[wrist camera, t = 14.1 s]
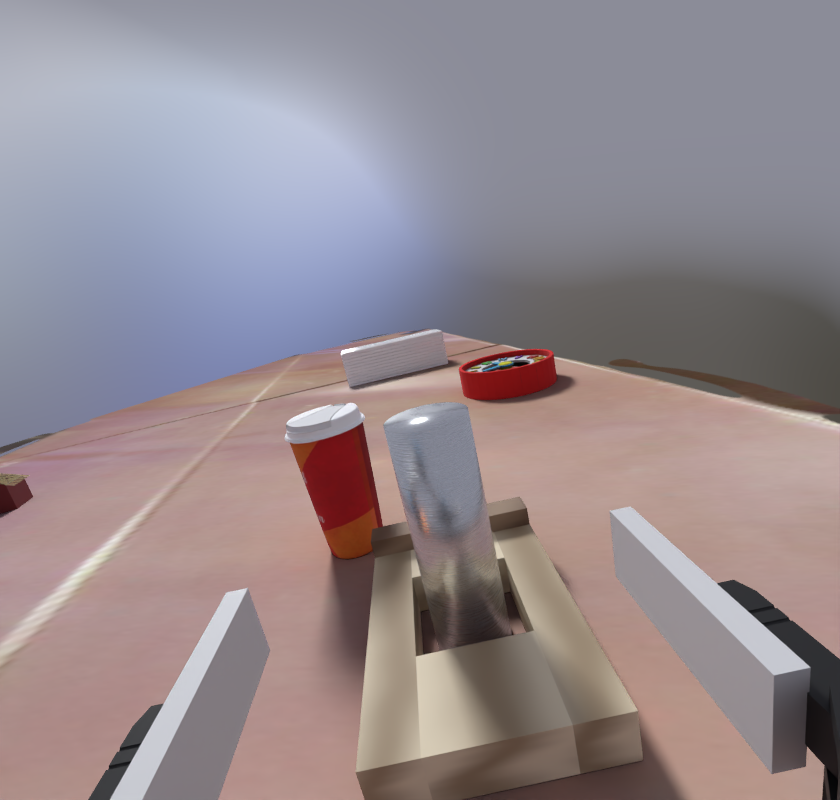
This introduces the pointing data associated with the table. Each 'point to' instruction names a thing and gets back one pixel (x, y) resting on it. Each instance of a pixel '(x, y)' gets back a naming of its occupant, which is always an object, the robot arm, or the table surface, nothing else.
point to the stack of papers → (394, 357)
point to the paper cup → (337, 475)
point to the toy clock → (508, 374)
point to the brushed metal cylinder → (449, 522)
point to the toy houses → (13, 492)
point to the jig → (485, 683)
